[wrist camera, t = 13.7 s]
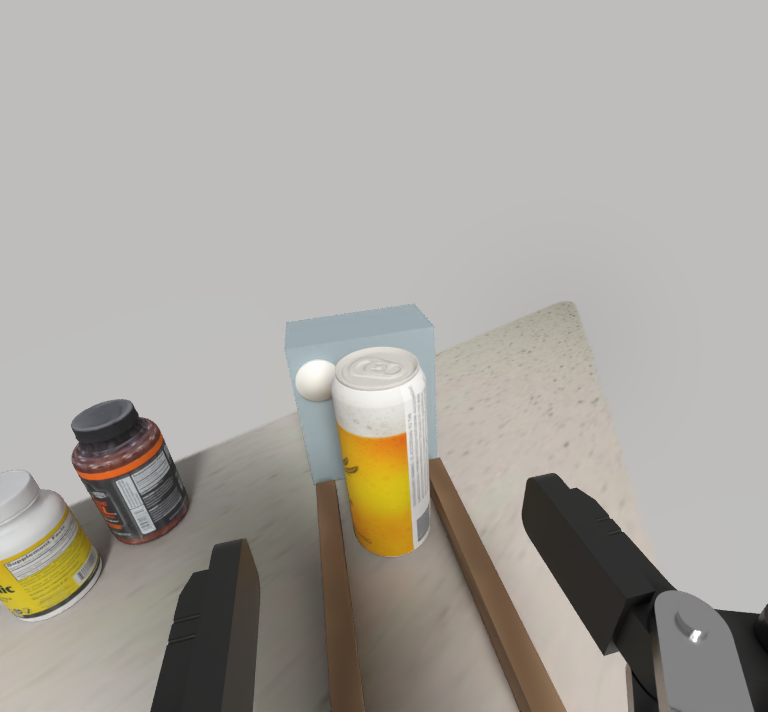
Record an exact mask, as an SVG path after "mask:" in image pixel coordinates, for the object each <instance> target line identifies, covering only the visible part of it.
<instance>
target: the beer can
mask: <svg viewBox="0 0 768 712" xmlns="http://www.w3.org/2000/svg"><path fill="white" fill-rule="evenodd" d="M331 392H332V398H333V404H334V410H335V416H336V422H337V428H338V434H339V440H340V447H341V453H342V459H343V465H344V471H345V477H346V483H347V489H348V495H349V501H350V507H351V513H352V520H353V526H354V532H355V535H356V537H357V539H358V541H359V542H360V544H361V545H362V546H363V547H364V548H366V549H367V550H368V551H370V552H372V553H374V554H377V555H380V556H384V557H399V556H403V555H406V554H408V553H410V552H412V551H413V550H415V549H416V548H418V547H419V546H420V545H421V544H422V543H423V542H424V541H425V539H426V538H427V536H428V534H429V531H430V526H431V517H430V486H429V456H428V425H427V395H426V376H425V374H424V372H423V370H422V369H421V367H420V365H419V361H418V359H417V357H416V356H415V355H414V354H412V353H411V352H409V351H406V350H403V349H400V348H394V347H372V348H366V349H362V350H358V351H355V352H353V353H350V354H348V355H347V356H345V357H343V358H342V359H341V360H340V361H339V362H338V363H337V365H336V367H335V374H334V377H333V380H332V383H331Z"/></svg>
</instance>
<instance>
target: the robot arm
mask: <svg viewBox="0 0 768 712" xmlns="http://www.w3.org/2000/svg"><path fill="white" fill-rule="evenodd" d="M522 521H523V525H524V528H525V530H526V533H527V535H528V536H529V538H530V539H531V541H532V543H533V544H534V546H535V547H536V549H537V551H538V552H539V554H540V555H541V557H542V559H543V560H544V562H545V563H546V565H547V566H548V568H549V570H550V571H551V573H552V574H553V576H554V578H555V579H556V581H557V582H558V584H559V585H560V587H561V589H562V590H563V592H564V593H565V595H566V597H567V598H568V600H569V601H570V603H571V604H572V606H573V608H574V609H575V611H576V612H577V614H578V616H579V617H580V619H581V620H582V622H583V623H584V625H585V627H586V628H587V630H588V631H589V633H590V635H591V636H592V638H593V639H594V641H595V642H596V644H597V646H598V647H599V649H600V650H601V652H602V654H603V655H604V656H605V655H608V654H612V653H615V652H618V651H620V653H621V654H622V656H623V657H624V659H625V660H626V662H627V664H626V684H627V699H628V712H768V604H767V605H766V607H765V608H764V610H763V611H762V613H761V614H756V613H745V612H735V611H725V610H717V609H713V608H712V607H711V606H709V605H708V604H707V603H705V602H704V601H702V600H701V599H699V598H697V597H695V596H693V595H691V594H688V593H685V592H681V591H678V590H676V589H675V588H674V587H673V586H672V585H671V584H670V583H669V582H668V581H667V580H666V579H665V578H664V576H663V575H662V574H661V573H660V572H659V571H658V570H657V569H656V567H655V566H654V565H653V564H652V563H651V562H650V561H649V560H648V558H647V557H646V556H645V555H644V554H643V553H642V552H641V551H640V550H639V548H638V547H637V546H636V545H635V544H634V543H633V542H632V541H631V539H630V538H629V537H628V536H627V535H626V534H625V533H624V532H622V531H621V528H620V527H619V526H618V525H617V524H616V523H615V522H614V520H613V519H610V517H609V515H608V514H607V513H606V511H605V510H604V509H603V508H602V507H601V506H600V505H599V504H598V503H597V501H596V500H595V499H593V498H592V497H590V496H589V495H587V494H585V493H584V492H582V491H581V490H579V489H578V488H573V489H569V487H568V486H567V485H566V484H565V483H564V482H563V480H562V479H561V478H560V477H559V476H558V475H557V474H555V473H550V474H545V475H541V476H536V477H531V478H529V479H528V480H527V483H526V489H525V495H524V501H523V508H522ZM259 607H260V583H259V576H258V572H257V569H256V566H255V563H254V560H253V557H252V554H251V551H250V548H249V545H248V542H247V540H246V539H245V538H244V539H239V540H234V541H230V542H225V543H220V544H216V545H215V546H214V548H213V551H212V555H211V560H210V565H209V569H208V570H203V571H199V572H195V573H193V574H192V576H191V578H190V579H189V581H188V583H187V584H186V586H185V587H184V589H183V591H182V592H181V594H180V595H179V599H178V603H177V607H176V611H175V615H174V619H173V620H174V624H172V627H171V631H170V635H169V639H168V641H169V643H168V645H167V647H166V651H165V655H164V659H163V663H162V667H161V671H160V675H159V679H158V683H157V687H156V691H155V695H154V699H153V703H152V707H151V711H150V712H253V697H254V682H255V667H256V652H257V637H258V622H259Z"/></svg>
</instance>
